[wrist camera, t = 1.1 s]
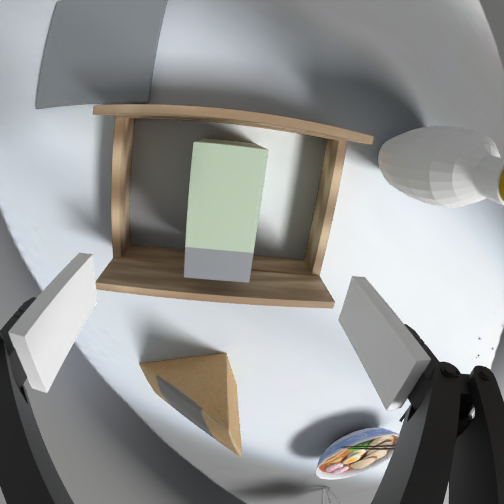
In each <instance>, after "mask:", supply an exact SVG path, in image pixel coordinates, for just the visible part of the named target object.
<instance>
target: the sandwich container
mask: <svg viewBox="0 0 504 504" xmlns="http://www.w3.org/2000/svg"><path fill="white" fill-rule="evenodd" d="M139 365H140V367H141V369H142V371H143V373H144V375H145V377H146V379H147V380H148V382H149V384H150V385H151V387H152V388H153V390H154V391H155V393H156V394H157V395H159V396H160V397H161V398H162V399H164V400H165V401H166V402H167V403H168V404H170V405H171V406H172V407H173V408H175V409H176V410H177V411H178V412H180V413H181V414H182V415H184V416H185V417H186V418H187V419H189V420H190V421H191V422H193V423H194V424H195V425H197V426H198V427H199V428H201V429H202V430H203V431H205V432H206V433H208V434H209V435H210V436H212V437H213V438H214V439H216V440H217V441H218V442H220V443H221V444H223V445H224V446H226V447H227V448H228V449H230V450H231V451H233V452H234V453H236V454H237V455H239V456H242V448H241V436H240V424H239V411H238V398H237V385H236V382H235V379H234V375H233V372H232V369H231V366H230V363H229V360H228V357H227V354H226V353H220V354H212V355H203V356H195V357H186V358H179V359H172V360H164V361H156V362H147V363H139Z"/></svg>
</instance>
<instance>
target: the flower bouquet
mask: <svg viewBox="0 0 504 504" xmlns="http://www.w3.org/2000/svg"><path fill="white" fill-rule="evenodd" d="M325 488H326V492H327V495H328V498H329V502H330V504H332V502H331V498H330V494H329V491H328V489H329V490H330V491H331V493H332V494H333V495H334V496H335V498H336V499H337V500H338V502H339V503H340V504H342V503H341V502H340V500H339V499H338V497H337V496H336V495H335V494H334V492H333V491H332V490H331V489H330V487H329V488H327V487H325ZM322 504H324V488H323V489H322Z"/></svg>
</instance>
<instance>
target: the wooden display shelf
mask: <svg viewBox="0 0 504 504" xmlns="http://www.w3.org/2000/svg"><path fill="white" fill-rule="evenodd" d="M93 114H95V115H111V116H116V118H115V128H114V141H113V157H112V187H111V216H112V246H113V259H112V260H111V262H110V263H109V264H108V266H107V267H106V268H105V270H104V271H103V272H102V274H101V275H100V277H99V278H98V279H97V281H96V282H95V283H96V289H98V290H106V291H114V292H122V293H130V294H138V295H147V296H156V297H166V298H176V299H187V300H198V301H210V302H222V303H236V304H250V305H267V306H286V307H309V308H333V307H334V303H335V301H334V300H333V298H332V296H331V295H330V293H329V291H328V290H327V288H326V286H325V284H324V283H323V281H322V279H321V278H320V276H319V275H320V271H321V267H322V263H323V259H324V255H325V251H326V246H327V242H328V238H329V233H330V229H331V224H332V220H333V215H334V210H335V206H336V201H337V196H338V191H339V186H340V180H341V175H342V170H343V164H344V159H345V153H346V147H347V141H352V142H358V143H364V144H370V145H372V144H373V138H374V136H370V135H366V134H362V133H359V132H355V131H351V130H347V129H342V128H338V127H334V126H329V125H325V124H320V123H315V122H310V121H305V120H300V119H295V118H289V117H283V116H277V115H271V114H264V113H257V112H249V111H241V110H233V109H223V108H212V107H199V106H183V105H156V104H122V105H96V106H94V107H93ZM135 118H139V119H173V120H191V121H205V122H216V123H226V124H236V125H244V126H252V127H260V128H267V129H274V130H280V131H286V132H292V133H298V134H304V135H309V136H314V137H319V138H324V139H327V143H326V149H325V155H324V161H323V167H322V173H321V178H320V184H319V189H318V195H317V200H316V205H315V210H314V215H313V220H312V225H311V230H310V235H309V240H308V245H307V249H306V254H305V259H304V260H298V259H286V258H275V257H263V256H253V260H252V267H251V274H250V281H249V283H246V282H233V281H221V280H209V279H198V278H186V277H184V264H185V250H184V249H173V248H161V247H150V246H139V245H130V177H131V158H132V144H133V132H134V121H135Z"/></svg>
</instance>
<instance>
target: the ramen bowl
mask: <svg viewBox="0 0 504 504" xmlns="http://www.w3.org/2000/svg"><path fill="white" fill-rule="evenodd" d="M398 437H399V434H397V433H395V432H392V431H390V430H387V429H383V428H380V427H379V428H365V429H362V430H358V431H354V432H352V433H349V434H347V435H345V436H343V437H342V438H340V439H338V440H337V441H335V442H334V443H332V444H331V445H330V446H329V447H328V448H327V449H326V450H325V451H324V453H323V454H322V456H321V458H320V460H319V462H318V466H317V470H316V474H315V475H317V476H318V477H319V478H321V479H329V480H333V479H341V478H347V477H350V476H354V475H357V474H361V473H363V472H365V471H368V470H370V469H372V468H374V467H376V466H378V465H380V464H381V463H383V462H385V461H386V460H388V459H389V458H390V457H392V454H393V451H394V449H395V446H396V443H397V440H398Z"/></svg>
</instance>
